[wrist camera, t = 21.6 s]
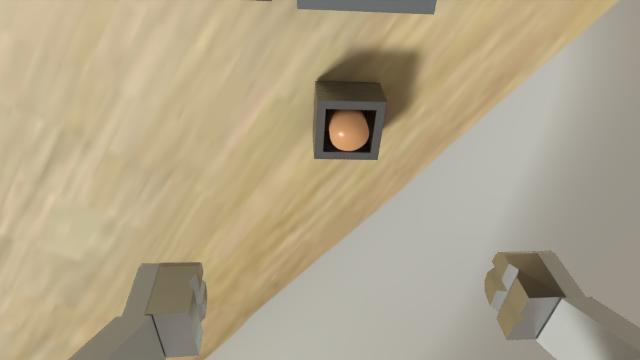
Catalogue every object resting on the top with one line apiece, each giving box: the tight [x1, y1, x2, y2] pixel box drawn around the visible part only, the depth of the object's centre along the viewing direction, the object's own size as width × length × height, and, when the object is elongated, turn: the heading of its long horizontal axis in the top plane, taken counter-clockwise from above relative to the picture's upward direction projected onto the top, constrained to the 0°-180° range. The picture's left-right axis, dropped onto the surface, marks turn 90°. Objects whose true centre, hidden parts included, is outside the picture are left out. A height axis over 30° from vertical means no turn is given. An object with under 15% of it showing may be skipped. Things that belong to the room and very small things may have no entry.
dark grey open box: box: [313, 81, 387, 160], centre depth 41 cm, size 6×6×4 cm
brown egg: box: [328, 109, 369, 151], centre depth 40 cm, size 4×4×4 cm
